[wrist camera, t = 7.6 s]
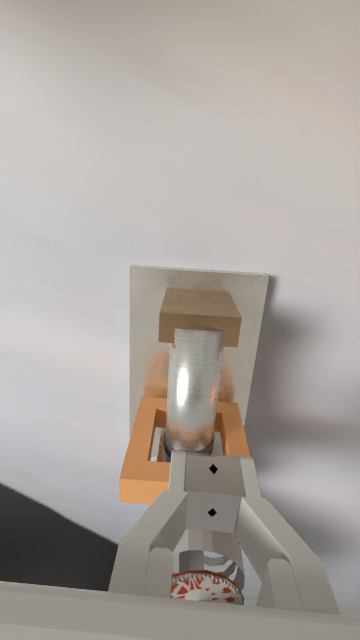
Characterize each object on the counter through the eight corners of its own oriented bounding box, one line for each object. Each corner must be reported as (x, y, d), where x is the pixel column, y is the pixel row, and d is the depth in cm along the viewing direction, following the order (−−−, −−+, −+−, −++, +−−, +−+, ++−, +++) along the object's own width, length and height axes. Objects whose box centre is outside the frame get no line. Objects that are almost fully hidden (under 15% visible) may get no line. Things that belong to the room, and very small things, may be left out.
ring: (237, 403, 26) (258, 488, 18) (234, 421, 27) (254, 511, 19) (141, 396, 26) (119, 478, 18) (140, 415, 27) (119, 502, 19)
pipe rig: (266, 273, 24) (301, 301, 16) (237, 455, 30) (252, 534, 23) (131, 265, 24) (105, 288, 16) (131, 448, 30) (112, 524, 23)
